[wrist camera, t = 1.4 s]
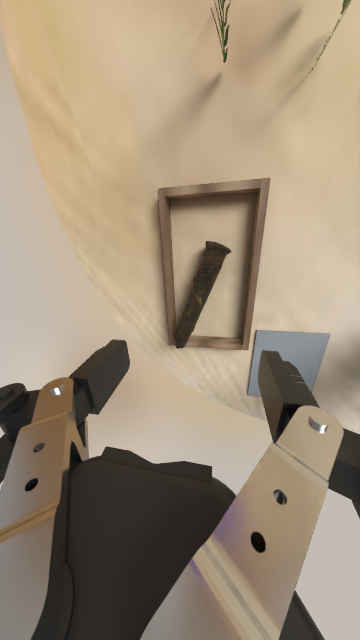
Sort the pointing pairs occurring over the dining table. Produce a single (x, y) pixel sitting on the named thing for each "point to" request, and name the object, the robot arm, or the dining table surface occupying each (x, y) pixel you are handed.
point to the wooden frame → (260, 213)
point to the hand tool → (201, 289)
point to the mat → (290, 354)
